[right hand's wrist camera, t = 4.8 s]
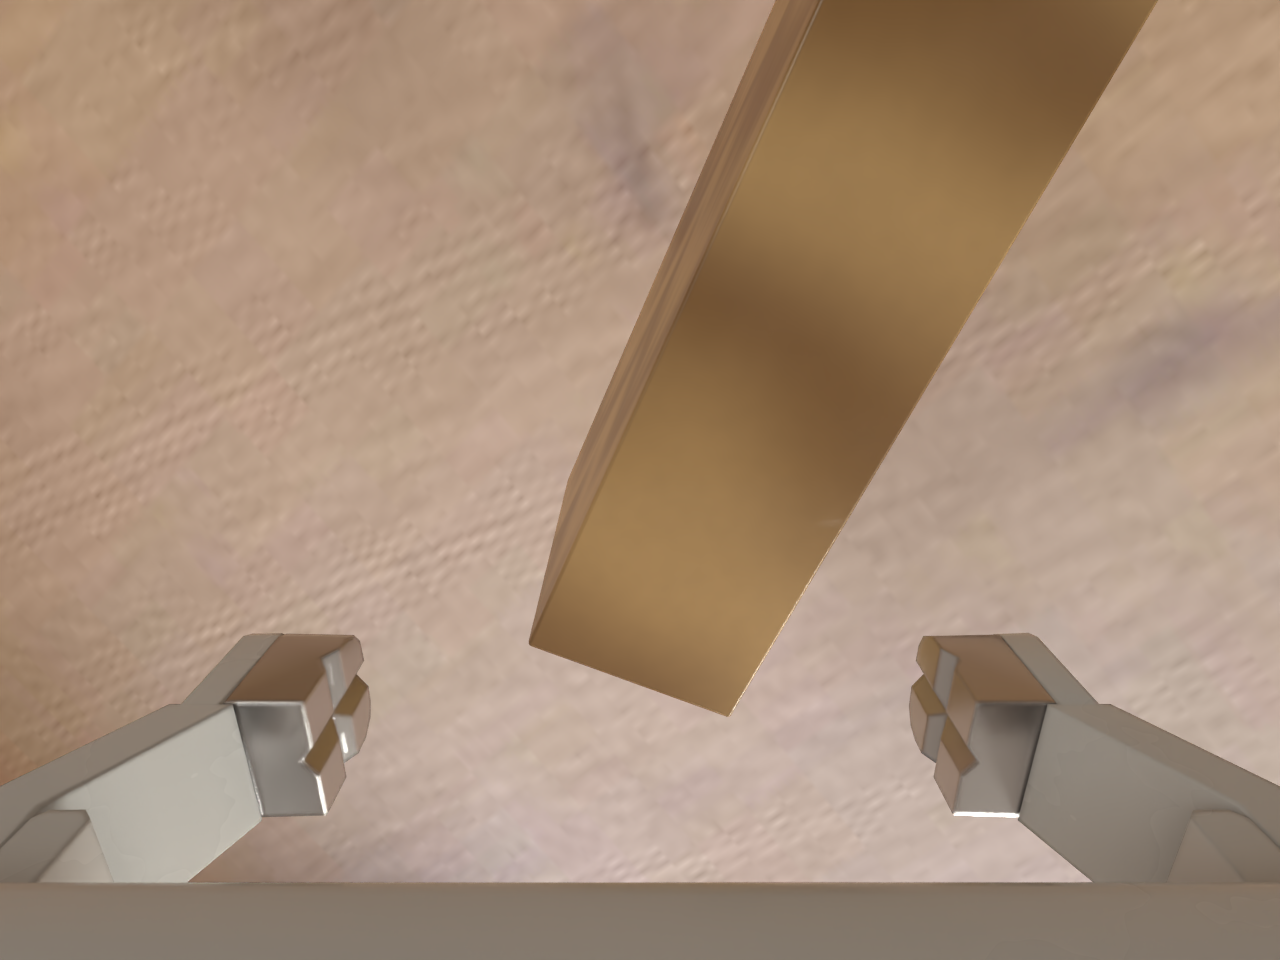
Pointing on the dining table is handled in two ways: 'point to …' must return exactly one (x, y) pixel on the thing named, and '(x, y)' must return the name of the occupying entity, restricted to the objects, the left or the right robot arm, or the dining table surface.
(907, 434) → the dining table surface
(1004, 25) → the bar
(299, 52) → the dining table surface
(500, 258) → the dining table surface
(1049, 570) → the dining table surface
